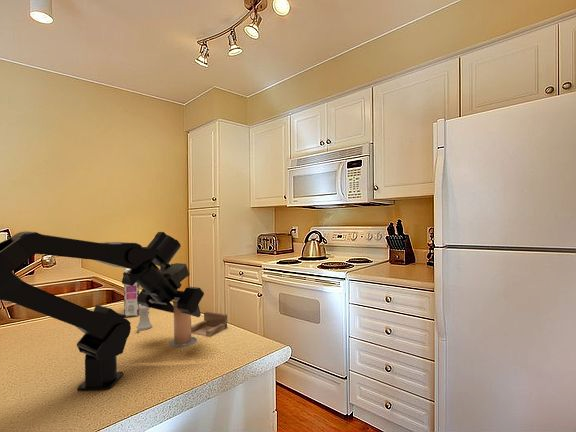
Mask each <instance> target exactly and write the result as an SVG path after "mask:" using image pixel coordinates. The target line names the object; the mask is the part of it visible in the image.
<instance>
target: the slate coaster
mask: <svg viewBox="0 0 576 432" xmlns="http://www.w3.org/2000/svg"><path fill="white" fill-rule="evenodd" d="M197 341H198V340H197V338H196V337H195V336H191V341H190V342H189V343H186V344H175V343H174V338H173V339H171V340H170V341H169V346H171V347H173V348H184V347H189V346H192V345H195V343H197Z"/></svg>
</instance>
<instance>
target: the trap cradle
mask: <svg viewBox="0 0 576 432" xmlns="http://www.w3.org/2000/svg"><path fill="white" fill-rule="evenodd" d="M226 329H228V314H225V313H219V312H213V311H205V312H203V320H202V321H200V322H197V323H195V324H193V325H191V335H192V334H193V335H197V336H203V337H207V338H208V337H209V338H211V337H213V336H215V335H216V334H218V333H221V332H223V331H224V330H226Z"/></svg>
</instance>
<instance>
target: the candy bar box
mask: <svg viewBox="0 0 576 432" xmlns="http://www.w3.org/2000/svg"><path fill="white" fill-rule="evenodd" d="M129 270H130V269H128V268H124V271H123V273H126V272H128V271H129ZM123 285H124V286H123V289H124V290H123V291H124V292H123V293H124V295H123V297H124V298H123V300H124V301H123V303H124V304H123V306H124V308H123V314H124V315H127V316H126V317H125V318H131V317H132V318H133V317H140V314H139V313H140V310H139V309H138V308H139V307H140V304H139V303H138V302H137V296H138V295H139V293H140V286H139V285H138V284H137V283H135V284H134V285H133V286H130V285H126V284H123Z"/></svg>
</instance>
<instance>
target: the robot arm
mask: <svg viewBox="0 0 576 432" xmlns="http://www.w3.org/2000/svg"><path fill="white" fill-rule="evenodd" d="M181 247H182V245H181V243H180V242H179V241H178V239H175V238H174V237H173V236H171V235H168V234H166V233H165V231H158V232H157V233H156V234H155V236H154V238H153V239H152V240H151V241H150V242H149V244H148V245H146V246H143V245H141V244H139V243H137V242H128V241H127V242H126V241H125V242H124V241H122V242H121V241H112V242H110V241H107V242H95V241H89V240H88V241H87V240H84V239H83V240H81V239H75V238H68V237H63V236H62V237H61V236H56V235H55V236H54V235H48V234H42V233H39V232H36V231H20V232H17V233H15V234H14V235H13V236H11V237H9V238H8V239H7V238H6V239H5V240H3V241H0V301H3V302H8V303H9V302H10V303H13V304H15V305H18V306H20V307H24V308H25V309H27V310H28V309H29V310H31V311H33V312H37V313H40V314H42V315H44V316H47V317H49V318H53V319H55V320H58V321H61V322H64V323H66V324H69V325H72V326H74V327H75V328H77V329H78V330H80V331H81V332H82V333H83V334H84V335H82V337H81V338H80V339H79V340H78V342H77V343H76V347H77V350H78V351H79V353H81V354H85V355H84V356H85V357H84V379H85V380H84V381H82V383H81V384H80V385H78V386H77V388H76V390H77V391H97V390H98V391H99V390H110V389H111V388H113V386H114V385H115V384H116V383H117V382H118V381H119V380H120V379H121V378H122V377H123V375H124V371H118V368H117V360H118V359H117V356H119V355H122V354H124V350H125V346H126V344H127V340H128V337H130V334H131V329H132V327H131V326H132V325H131V321H130V320H128V319H127V317H126V316H127V315H124V313H120V312H117V311H115V310H114V309H112V308H110V307H107V306H102V305H98V304H95V306H94V308H93V310H91V309H88V308H86V307H83V306H82V305H81V306H80V305H79V304H77V303H74V302H71V301H69V300H67V299H64V298H62V297H59V296H57V295H56V294H53V293H50V292H48V291H46V290H43V289H41V288H39V287H36V286H35V285H32V284H30V283H27V282H25V281H24V280H23V279H21V278H20V277H19V276H17V275H16V274H15V273H14V271H15V270H17V269H18V268H19V267H20V266H22V265H23V264H24V263H25V262H26V261H27V260H28V259H30V258H31V257H33V256H34V255H43V256H53V257H61V258H62V257H63V258H74V259H83V260H91V261H95V262H97V263H101V264H104V265H108V266H110V267H114V268H122V269H125V268H128V269H130V270H129V271H128V272H126V273H124V272H123V273H122V280H121V284H122V285H124V284H126V285H130V286H133V285H134V284H135V283H137V284H138V285H139V287H140V288H141V290H140V291H139V295H138V296H137V302H138V303H139V306H140V305H141V306H146V307H149V309H150V308H151V309H154V310H159V311H162V312H163V311H164V312H167V313H172V314H174V305H173V303H171V302H172V301H173V300H177V301H178V302H177V309H178V310H180V311H182V312H181V313H184V314H188V315H191V317H196V318H200V316H201V315H202V313H201V308H200V306H199V304H200V302H201V301H202V299H203V297H204V295H205V292H204V291H203V289H202V288H201V287H197V286H196V287H195V286H187V287H185V289H184V290H179V289H180V288H181V287H182V283H181V282H182V281H184V280H185V279H186V278H187V277H189V276H190V271H189V268H188V266H187V264H186V263H183V262H182V263H178V262H176V263H171V264H170V262H171V261H172V260H173V258H174V257H175V256H176V254H177V253H178V252H179V250H180V249H181ZM159 267H160V268H159Z"/></svg>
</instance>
